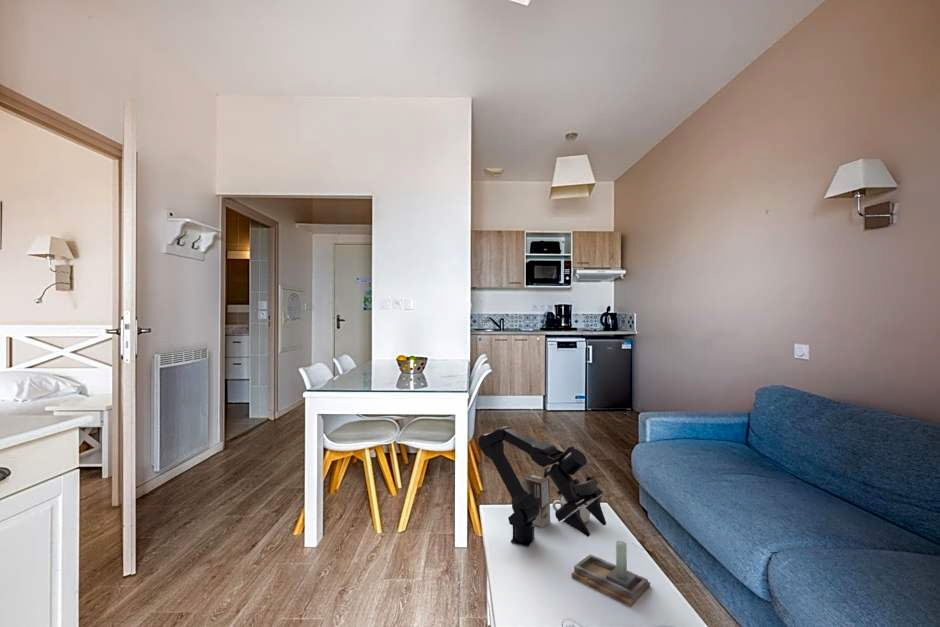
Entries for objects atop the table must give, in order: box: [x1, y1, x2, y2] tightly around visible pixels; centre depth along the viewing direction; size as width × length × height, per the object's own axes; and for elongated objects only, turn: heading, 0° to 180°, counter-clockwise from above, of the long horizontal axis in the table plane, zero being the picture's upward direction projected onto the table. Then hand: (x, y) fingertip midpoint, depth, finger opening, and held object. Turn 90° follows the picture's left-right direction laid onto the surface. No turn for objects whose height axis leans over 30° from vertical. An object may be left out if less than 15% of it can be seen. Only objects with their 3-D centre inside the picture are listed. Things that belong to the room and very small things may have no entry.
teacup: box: [552, 495, 591, 524], centre depth 160 cm, size 14×11×8 cm
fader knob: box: [606, 540, 638, 590], centre depth 121 cm, size 6×6×11 cm
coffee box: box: [520, 472, 551, 528], centre depth 160 cm, size 9×6×16 cm
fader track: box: [571, 553, 651, 608], centre depth 123 cm, size 18×12×3 cm, turn 44°
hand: (597, 530), depth 126 cm, fingers open, 9 cm apart
